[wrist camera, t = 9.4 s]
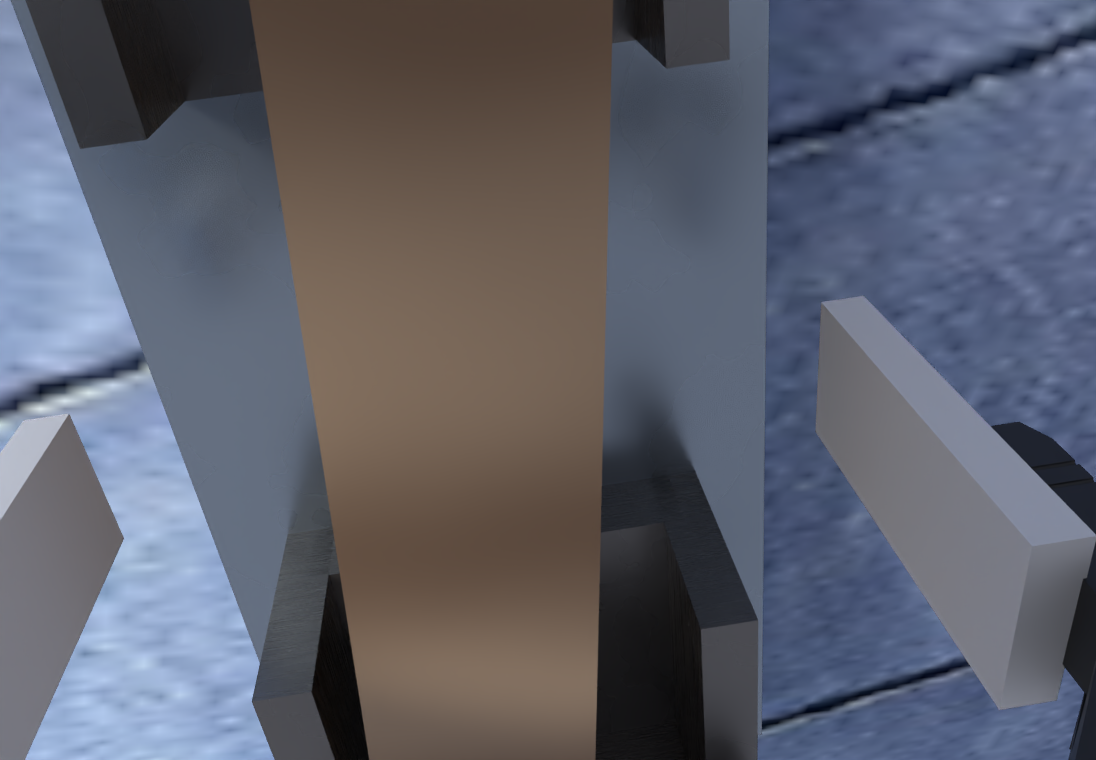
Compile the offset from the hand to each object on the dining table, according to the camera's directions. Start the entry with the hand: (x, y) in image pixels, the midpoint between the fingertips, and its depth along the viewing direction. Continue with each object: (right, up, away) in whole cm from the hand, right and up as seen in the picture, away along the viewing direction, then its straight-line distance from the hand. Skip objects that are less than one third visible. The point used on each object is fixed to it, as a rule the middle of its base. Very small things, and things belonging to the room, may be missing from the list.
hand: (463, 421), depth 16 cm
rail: (0, +1, +3) cm, 3 cm away
